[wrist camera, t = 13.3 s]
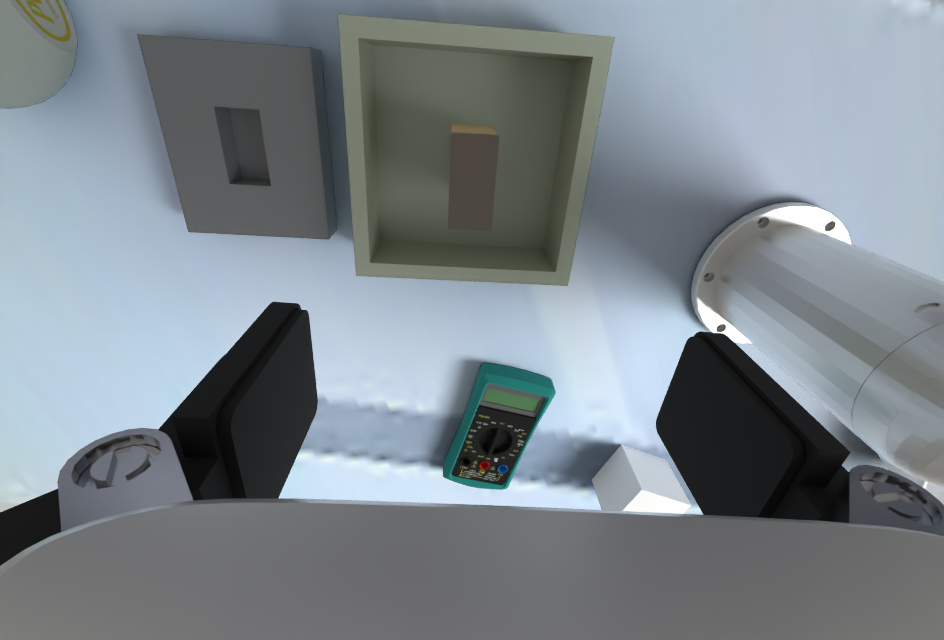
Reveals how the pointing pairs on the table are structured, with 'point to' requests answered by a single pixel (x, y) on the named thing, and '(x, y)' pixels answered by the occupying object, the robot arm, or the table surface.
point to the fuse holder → (245, 135)
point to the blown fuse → (472, 177)
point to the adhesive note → (639, 484)
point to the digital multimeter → (497, 426)
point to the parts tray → (429, 141)
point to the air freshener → (34, 50)
